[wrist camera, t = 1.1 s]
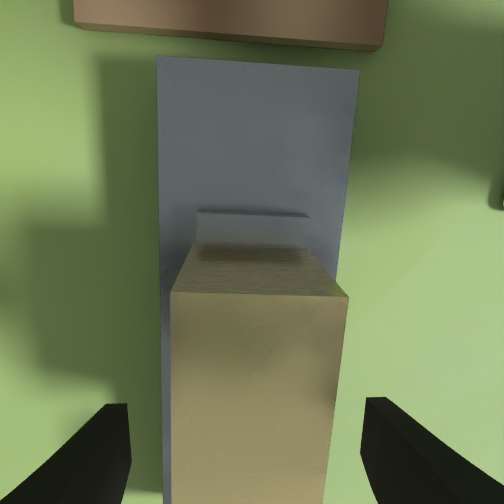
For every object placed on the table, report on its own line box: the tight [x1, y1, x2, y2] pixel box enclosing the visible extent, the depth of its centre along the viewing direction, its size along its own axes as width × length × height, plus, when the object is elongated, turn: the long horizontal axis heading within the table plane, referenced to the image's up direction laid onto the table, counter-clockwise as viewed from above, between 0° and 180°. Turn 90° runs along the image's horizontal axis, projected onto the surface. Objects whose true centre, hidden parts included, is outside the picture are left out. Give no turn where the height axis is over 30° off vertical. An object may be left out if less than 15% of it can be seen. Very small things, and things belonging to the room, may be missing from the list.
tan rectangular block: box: [170, 245, 349, 504], centre depth 12 cm, size 4×9×5 cm, turn 177°
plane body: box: [157, 56, 360, 504], centre depth 14 cm, size 7×22×7 cm, turn 177°
